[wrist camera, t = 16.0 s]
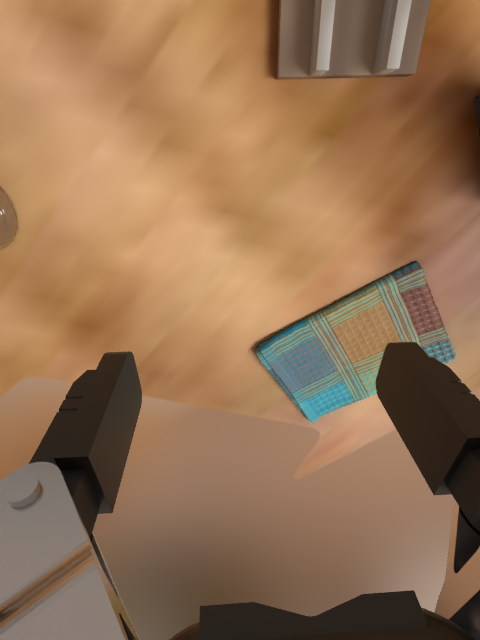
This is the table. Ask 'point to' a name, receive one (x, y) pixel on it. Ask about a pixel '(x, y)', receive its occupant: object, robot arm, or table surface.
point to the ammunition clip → (478, 109)
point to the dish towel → (354, 342)
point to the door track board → (349, 38)
